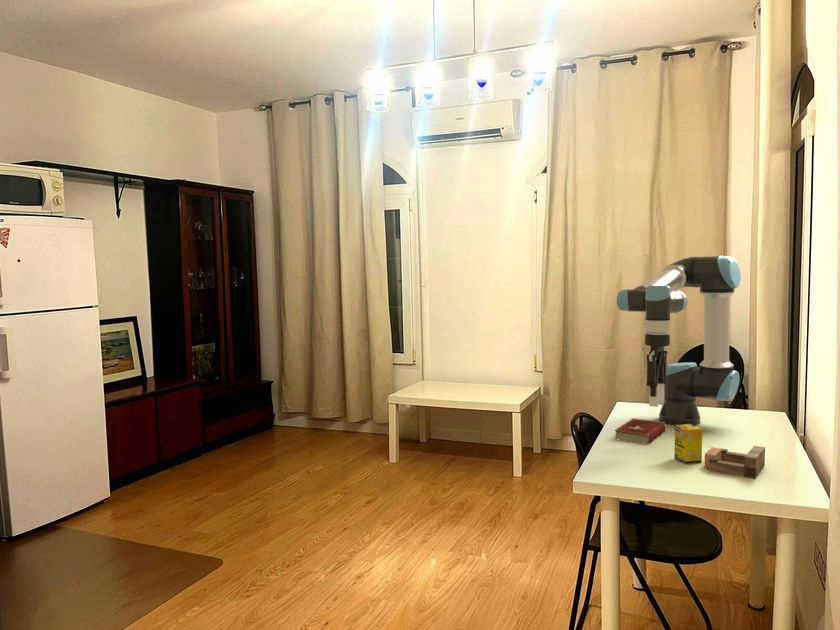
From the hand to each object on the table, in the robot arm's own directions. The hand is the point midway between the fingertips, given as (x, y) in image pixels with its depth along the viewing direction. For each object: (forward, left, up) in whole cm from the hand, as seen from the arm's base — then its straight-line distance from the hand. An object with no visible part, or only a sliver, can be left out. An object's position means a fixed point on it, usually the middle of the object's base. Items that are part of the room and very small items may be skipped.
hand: (656, 404), depth 207 cm
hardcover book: (-21, -12, -17) cm, 30 cm away
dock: (0, +24, -17) cm, 29 cm away
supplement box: (0, +10, -17) cm, 20 cm away
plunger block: (0, +17, -16) cm, 24 cm away
